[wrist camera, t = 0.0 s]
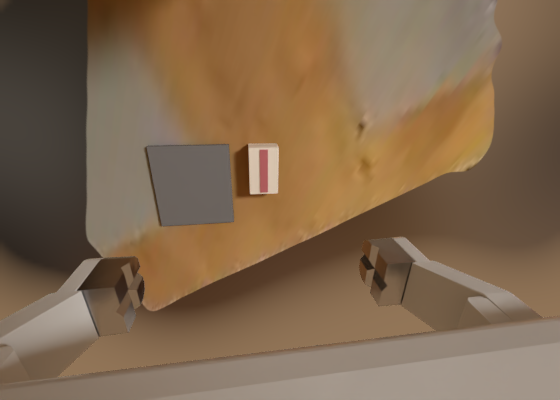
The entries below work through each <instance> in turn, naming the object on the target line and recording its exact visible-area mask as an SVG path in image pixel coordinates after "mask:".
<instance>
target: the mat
mask: <svg viewBox="0 0 560 400" xmlns="http://www.w3.org/2000/svg"><path fill="white" fill-rule="evenodd" d="M147 152H148V158H149V163H150V168H151V173H152V178H153V183H154V188H155V194H156V199H157V204H158V209H159V214H160V219H161V224H162V226H173V225H190V224H208V223H225V222H234V216H233V201H232V186H231V172H230V157H229V144H217V145H166V146H147Z"/></svg>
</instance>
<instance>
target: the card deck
mask: <svg viewBox="0 0 560 400" xmlns="http://www.w3.org/2000/svg"><path fill="white" fill-rule="evenodd" d="M248 157H249V189H250V194H273V193H278V159H279V147H278V145H277V144H276V143H268V144H248Z"/></svg>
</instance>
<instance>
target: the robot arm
mask: <svg viewBox="0 0 560 400" xmlns="http://www.w3.org/2000/svg"><path fill="white" fill-rule="evenodd" d="M362 251H363V253H364V256H363V257H362V258H361V259H360V265H359V270H360V275H361V278H362V280H363V282H364V283H365V284H366V285H367V286H369V287H371V290H370V293H371V295H372V296H373V298H374V300H375V301H376V303H377V304H378V306H388V305H402V306H403V307H404V308H405V309H407V310H408V311H410V312H411V313H412V314H414V315H415V316H416V317H418V318H419V319H421V320H422V321H423V322H425V323H426V324H428V325H429V326H430V327H432V328H433V329H435V330H436V331H431V332H423V333H416V334H407V335H399V336H391V337H383V338H375V339H366V340H358V341H350V342H341V343H333V344H325V345H316V346H308V347H300V348H293V349H284V350H276V351H268V352H259V353H251V354H243V355H235V356H227V357H219V358H212V359H203V360H195V361H187V362H179V363H170V364H162V365H154V366H146V367H138V368H130V369H122V370H113V371H106V372H97V373H89V374H81V375H73V376H65V377H57V376H59V375H60V374H61V373H62V372H63V371H64V370H65V369H66V368H67V367H68V366H69V365H70V364H72V363H73V362H74V361H75V360H76V359H77V358H78V357H79V356H80V355H81V354H82V353H83V352H85V351H86V350H87V349H88V348H89V347H90V346H91V345H92V344H93V343H94V342H95V341H96V340H97V339H98V338H99V337H100V336H107V335H116V334H123V333H128V332H129V330H130V328H131V326H132V323H133V321H134V319H135V317H136V314H135V311H134V310H135V309H136V308H137V307H139V306H140V305H141V303H142V300H143V297H144V290H145V288H144V280H143V277H142V276H141V275H140V274H139V273H137V272H138V270H139V268H140V264H139V261H138V258H137V257H135V256H131V257H111V258H95V259H87V260H84V261H83V262H82V263H81V265H80V266H79V267H78V268H77V269H76V270H75V271H74V273H73V274H72V275H71V276H70V277H69V278H68V280H67V281H66V282H65V283H64V284H63V286H62V287H61V288H60V289H59V290H58V291H57V292H56V293H50V294H49V295H47V296H45V297H43V298H41V299H39V300H37V301H36V302H34V303H32V304H30V305H28V306H26V307H25V308H23V309H21V310H19V311H17V312H15V313H13V314H12V315H10V316H8V317H6V318H4V319H2V320H1V321H0V400H560V316H553V317H545V318H542V317H541V316H540V315H539V314H537V313H536V312H535V311H533V310H532V309H531V308H530V307H528V306H527V305H526V304H525V303H523V302H522V301H521V300H520V299H518V298H517V297H516V296H514V295H513V294H512V293H511V292H508V291H506V290H504V289H501V288H499V287H496V286H494V285H491V284H489V283H487V282H484V281H481V280H479V279H477V278H474V277H472V276H470V275H467V274H465V273H462V272H460V271H457V270H455V269H453V268H450V267H448V266H445V265H443V264H440V263H438V262H436V261H429V260H428V259H427V258H426V257H425V256H424V255H423V254H422V253H421V252H420V251H419V250H418V249H416V247H414V246H413V245H412V244H411V243H410V242H409V241H408V240H407V239H406V238H404V237H394V238H386V239H374V240H365V241H364V242H363V245H362Z"/></svg>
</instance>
